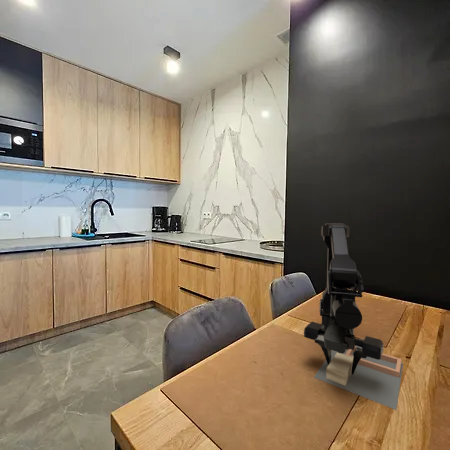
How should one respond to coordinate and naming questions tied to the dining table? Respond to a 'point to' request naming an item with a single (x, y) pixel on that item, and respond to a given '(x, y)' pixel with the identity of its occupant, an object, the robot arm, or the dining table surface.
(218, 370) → the dining table surface
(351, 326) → the robot arm
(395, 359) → the frame
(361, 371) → the mat
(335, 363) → the tan oblong block
